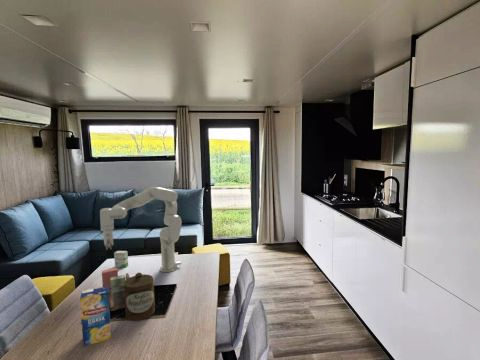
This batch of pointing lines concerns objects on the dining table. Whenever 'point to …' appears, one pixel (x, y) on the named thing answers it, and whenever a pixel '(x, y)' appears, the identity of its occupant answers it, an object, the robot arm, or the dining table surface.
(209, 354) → the dining table surface
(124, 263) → the ink box
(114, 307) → the shelf
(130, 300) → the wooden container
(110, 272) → the salmon red block
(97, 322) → the beverage box
